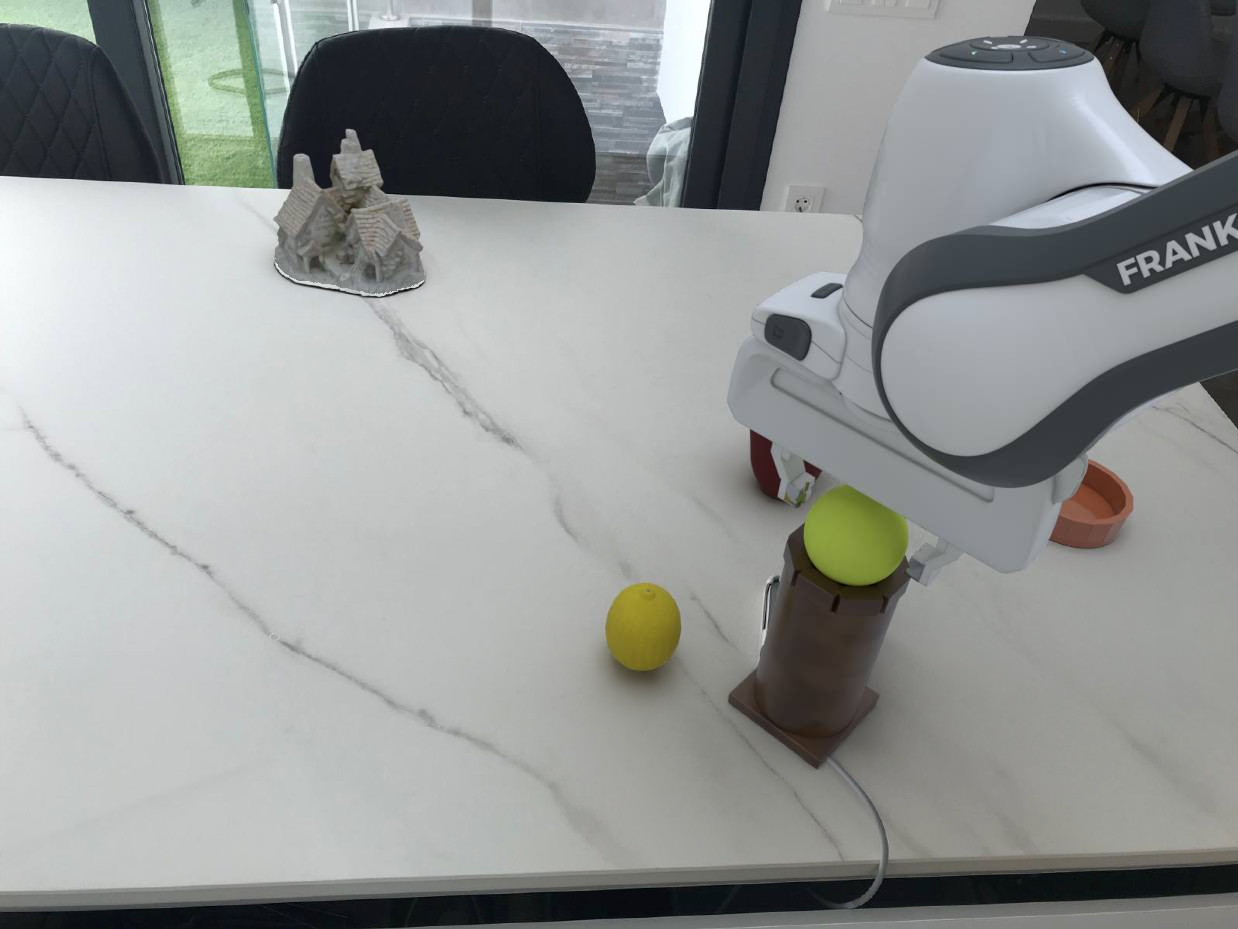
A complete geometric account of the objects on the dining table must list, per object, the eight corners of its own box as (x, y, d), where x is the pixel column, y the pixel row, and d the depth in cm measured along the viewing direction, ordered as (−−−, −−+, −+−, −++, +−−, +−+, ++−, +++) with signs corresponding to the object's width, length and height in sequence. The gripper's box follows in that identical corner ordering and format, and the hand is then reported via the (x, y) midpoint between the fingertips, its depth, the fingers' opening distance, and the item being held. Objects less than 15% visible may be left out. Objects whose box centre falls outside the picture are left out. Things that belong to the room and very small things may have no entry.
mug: (812, 444, 96) (834, 360, 90) (862, 495, 91) (889, 410, 84) (721, 470, 92) (737, 384, 86) (767, 525, 87) (788, 437, 80)
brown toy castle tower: (877, 703, 73) (934, 557, 63) (817, 769, 68) (869, 623, 58) (789, 642, 77) (830, 496, 67) (727, 701, 72) (761, 553, 62)
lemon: (678, 691, 72) (691, 620, 67) (604, 692, 72) (611, 620, 67) (670, 633, 77) (682, 562, 71) (600, 634, 76) (606, 562, 71)
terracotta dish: (1136, 511, 92) (1150, 488, 90) (1095, 565, 86) (1108, 541, 84) (1036, 461, 97) (1047, 437, 95) (990, 508, 91) (1001, 484, 89)
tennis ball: (912, 571, 64) (940, 499, 60) (860, 623, 60) (886, 550, 56) (830, 521, 67) (851, 449, 63) (775, 568, 63) (794, 495, 59)
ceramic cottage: (265, 247, 118) (251, 127, 108) (398, 231, 125) (396, 117, 115) (296, 318, 108) (284, 194, 98) (439, 297, 115) (441, 179, 105)
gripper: (1125, 415, 49) (1031, 600, 58) (793, 262, 59) (756, 440, 68) (1075, 470, 46) (983, 659, 54) (729, 297, 55) (699, 480, 64)
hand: (854, 536), depth 61 cm, fingers open, 8 cm apart
